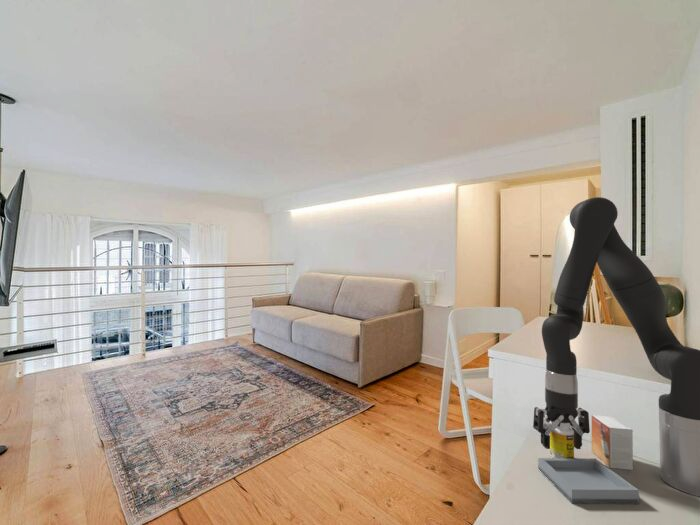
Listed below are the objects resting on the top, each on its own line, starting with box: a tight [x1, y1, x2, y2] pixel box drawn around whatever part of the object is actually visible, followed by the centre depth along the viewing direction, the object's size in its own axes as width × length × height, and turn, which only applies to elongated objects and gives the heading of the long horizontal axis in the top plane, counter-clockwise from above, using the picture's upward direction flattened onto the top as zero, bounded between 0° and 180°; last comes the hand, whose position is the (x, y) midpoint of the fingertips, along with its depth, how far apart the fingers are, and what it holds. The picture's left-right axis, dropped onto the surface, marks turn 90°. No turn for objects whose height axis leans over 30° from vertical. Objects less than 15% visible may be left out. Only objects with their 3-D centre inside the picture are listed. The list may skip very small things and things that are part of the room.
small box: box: [591, 414, 634, 471], centre depth 86 cm, size 8×6×10 cm
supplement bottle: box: [549, 423, 575, 458], centre depth 87 cm, size 6×6×10 cm
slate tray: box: [537, 457, 640, 505], centre depth 76 cm, size 15×12×3 cm
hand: (561, 447), depth 87 cm, fingers open, 8 cm apart
